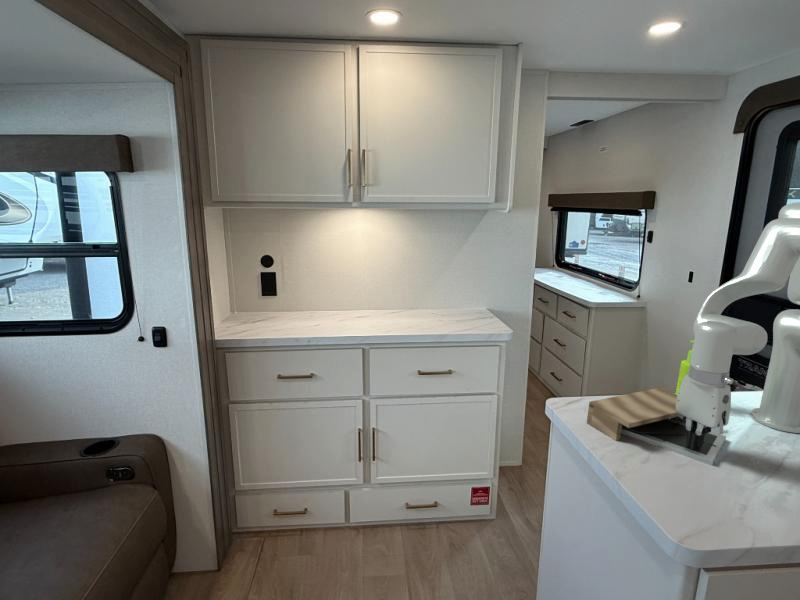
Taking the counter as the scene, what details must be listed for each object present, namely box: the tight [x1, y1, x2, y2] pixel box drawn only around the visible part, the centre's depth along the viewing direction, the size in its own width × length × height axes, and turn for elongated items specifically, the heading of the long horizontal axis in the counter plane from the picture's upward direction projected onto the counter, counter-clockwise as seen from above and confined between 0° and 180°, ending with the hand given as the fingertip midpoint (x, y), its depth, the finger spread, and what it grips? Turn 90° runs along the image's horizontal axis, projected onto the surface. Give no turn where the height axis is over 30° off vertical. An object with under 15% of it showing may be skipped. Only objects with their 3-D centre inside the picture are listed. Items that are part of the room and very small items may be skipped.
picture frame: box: [621, 418, 727, 466], centre depth 116 cm, size 16×3×21 cm
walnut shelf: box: [586, 387, 684, 442], centre depth 121 cm, size 27×12×6 cm, turn 113°
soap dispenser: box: [675, 339, 694, 395], centre depth 131 cm, size 6×7×20 cm
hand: (693, 446), depth 109 cm, fingers closed
